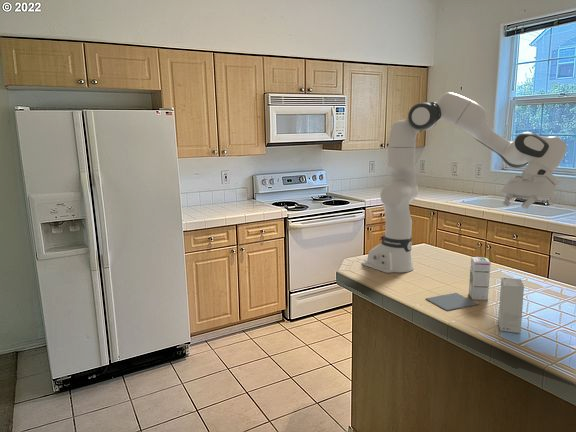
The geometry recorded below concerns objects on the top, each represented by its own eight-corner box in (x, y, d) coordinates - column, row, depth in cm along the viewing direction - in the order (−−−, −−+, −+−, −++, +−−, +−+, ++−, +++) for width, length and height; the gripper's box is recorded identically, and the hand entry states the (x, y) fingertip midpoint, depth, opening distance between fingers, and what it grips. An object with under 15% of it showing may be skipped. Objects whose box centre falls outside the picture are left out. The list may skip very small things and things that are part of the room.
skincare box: (520, 334, 131) (526, 287, 128) (498, 331, 133) (503, 285, 130) (517, 322, 139) (522, 278, 136) (496, 319, 141) (501, 276, 138)
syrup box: (488, 300, 156) (491, 261, 153) (470, 299, 157) (474, 261, 154) (484, 294, 162) (488, 257, 159) (467, 293, 163) (470, 256, 160)
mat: (425, 299, 158) (425, 298, 157) (456, 293, 163) (456, 292, 163) (446, 311, 148) (446, 309, 147) (478, 304, 153) (478, 303, 153)
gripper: (509, 171, 171) (489, 199, 170) (552, 171, 151) (530, 203, 150) (519, 180, 172) (499, 208, 172) (563, 182, 153) (541, 214, 152)
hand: (514, 206), depth 161 cm, fingers open, 8 cm apart
